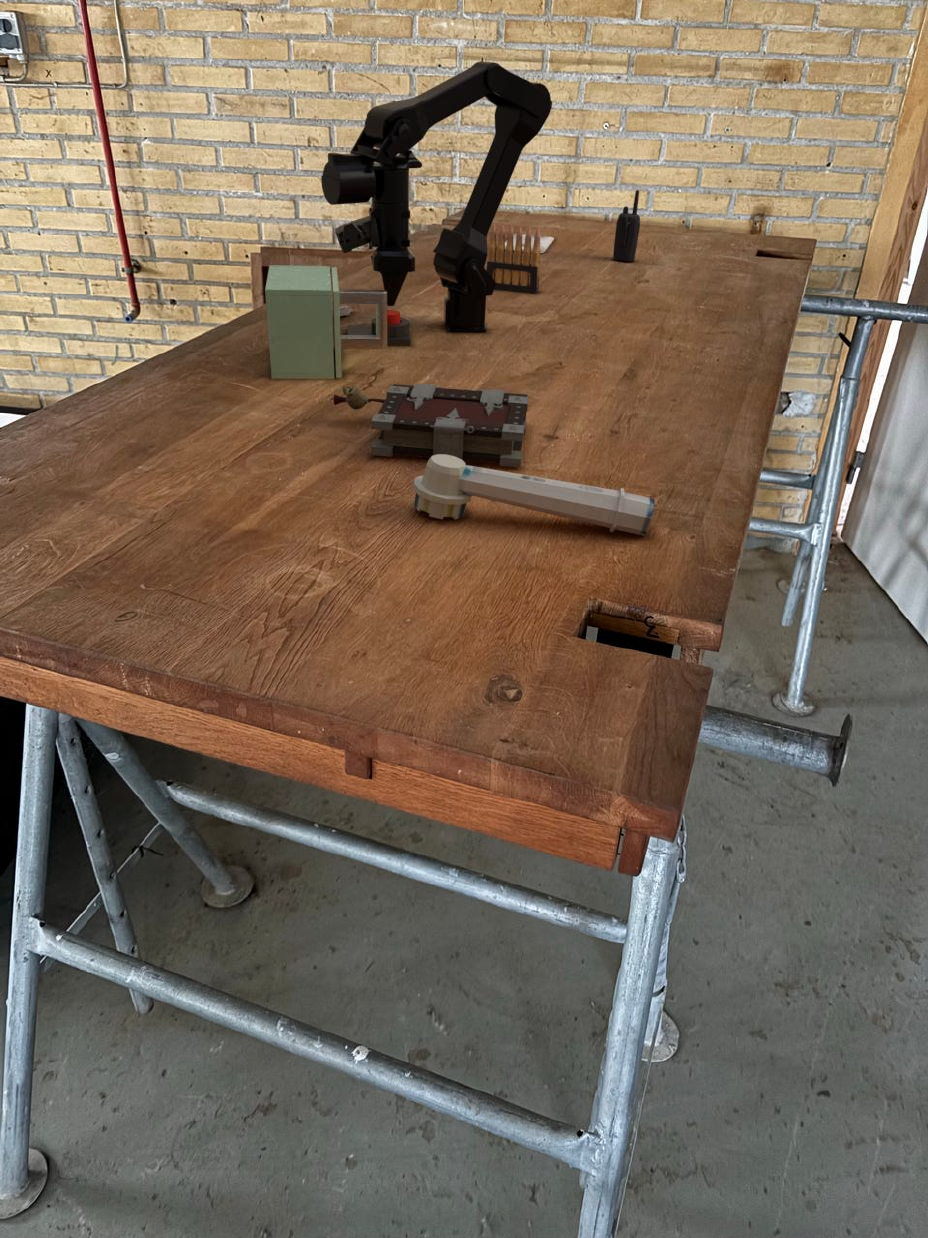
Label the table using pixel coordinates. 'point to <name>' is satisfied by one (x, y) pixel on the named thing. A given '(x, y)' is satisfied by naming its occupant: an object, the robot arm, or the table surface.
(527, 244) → the ammunition clip
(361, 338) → the cabinet door
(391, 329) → the button block
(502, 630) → the table surface
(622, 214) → the two-way radio
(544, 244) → the tile
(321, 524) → the table surface
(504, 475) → the toothbrush head
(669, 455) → the table surface
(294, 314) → the cabinet
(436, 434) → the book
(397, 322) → the release button
